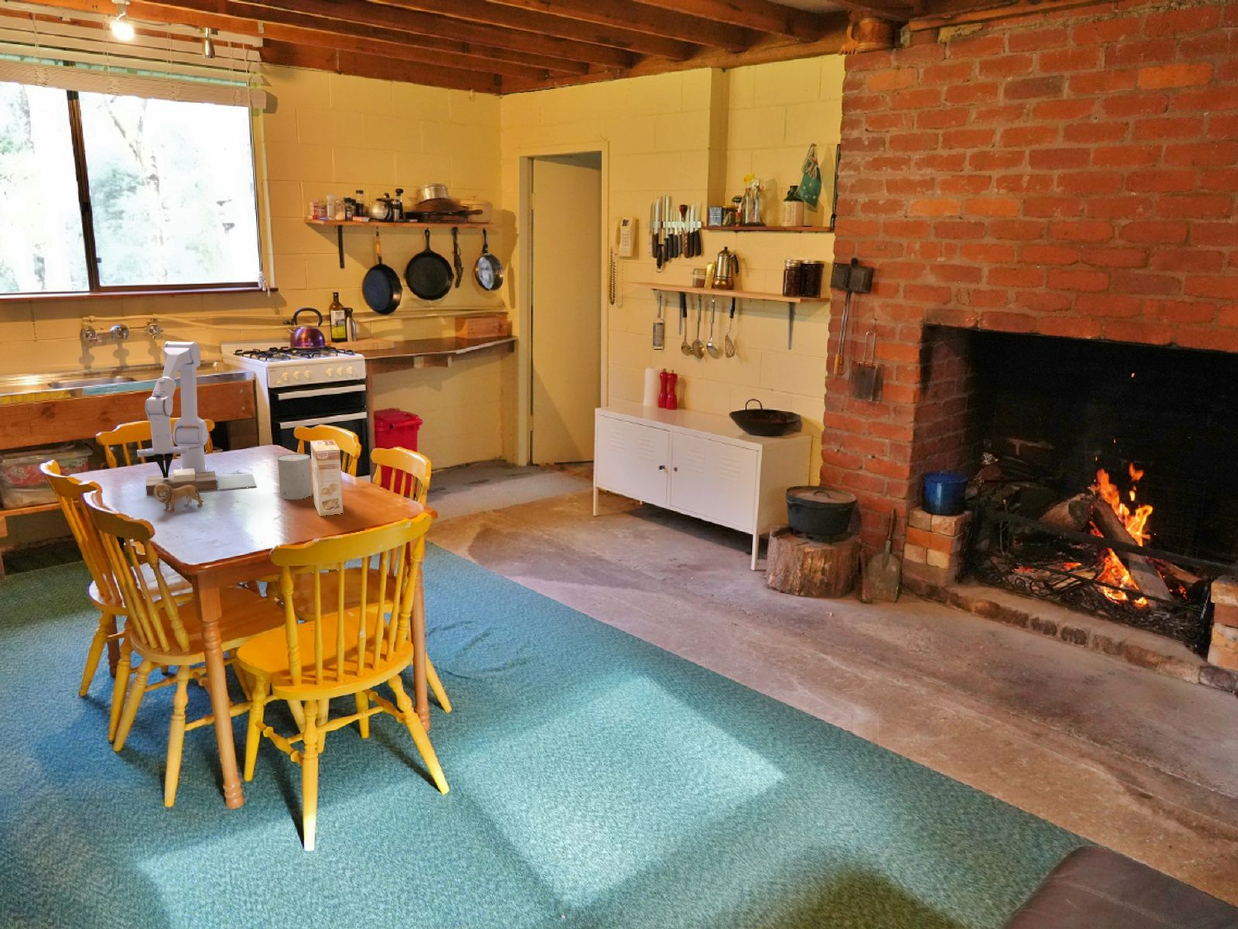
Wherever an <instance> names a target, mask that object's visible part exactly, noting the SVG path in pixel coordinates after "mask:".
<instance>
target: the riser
mask: <svg viewBox="0 0 1238 929" xmlns="http://www.w3.org/2000/svg"><path fill="white" fill-rule="evenodd" d="M145 479H146V480H145V488H146V489H145V490H146V496H155V494H154V492H153V491H154V487H155V486H156V485H157V484H160V483H164V484H166V485H170V486H172V487H173V488H180V487H183V486H186V485H192V486H194V487H196V488H197V490H202V491H211V490H212V489H213V490H218V482H217V476H216V471H215V470H212V471H207V472H198V473H195V480H192V481H181V482H174V473H173V474H168V478H163V474H162V475H151V476H146V478H145Z"/></svg>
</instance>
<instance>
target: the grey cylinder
mask: <svg viewBox="0 0 1238 929" xmlns="http://www.w3.org/2000/svg"><path fill="white" fill-rule="evenodd" d="M277 468H278V482H279V497H280V498H281V499H283V500H288V501H290V500H291V501H293V500H303V498H304V499H307V498H306V497H308V496H310V497H312V496H313V493H312V492H313V486H312V475H311V474H312V469H311V455H309V454H307V453H287V454H282V455H279V456H277ZM308 498H309V497H308Z"/></svg>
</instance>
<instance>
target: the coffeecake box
mask: <svg viewBox="0 0 1238 929" xmlns="http://www.w3.org/2000/svg"><path fill="white" fill-rule="evenodd" d="M310 452H311V453H310V461H311V474H312V475H311V478H312V492H313V493H312V496H313V503H314V506H315V509H316V512H317V514H318V516H319V517H325V516H326V515H327V516H335V515H334V514H338V513H339V515H341V514H340V513H343V514H344V507H343V505H344V504H343V486H342V485H343V484H342V465H341V449H340V447H339V446H338V444H337V443H336V441H335V439H320V440H310ZM327 516H326V517H327Z"/></svg>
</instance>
